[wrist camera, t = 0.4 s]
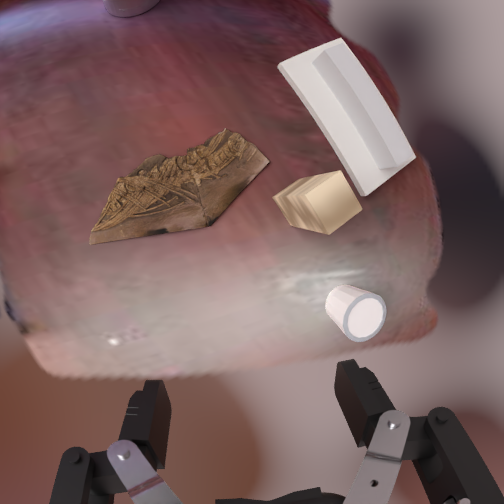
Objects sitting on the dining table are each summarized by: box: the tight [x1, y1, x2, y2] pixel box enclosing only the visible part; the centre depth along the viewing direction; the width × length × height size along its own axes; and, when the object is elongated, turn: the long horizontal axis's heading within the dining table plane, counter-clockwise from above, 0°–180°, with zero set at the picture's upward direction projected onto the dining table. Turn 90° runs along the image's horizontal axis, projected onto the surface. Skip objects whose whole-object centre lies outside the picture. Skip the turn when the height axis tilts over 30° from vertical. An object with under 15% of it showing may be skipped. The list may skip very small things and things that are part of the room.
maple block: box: [272, 170, 362, 235], centre depth 34 cm, size 4×4×12 cm
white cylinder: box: [325, 285, 387, 342], centre depth 40 cm, size 7×7×7 cm
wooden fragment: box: [89, 128, 270, 245], centre depth 37 cm, size 26×11×1 cm, turn 111°
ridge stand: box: [277, 38, 416, 196], centre depth 36 cm, size 22×12×6 cm, turn 34°
